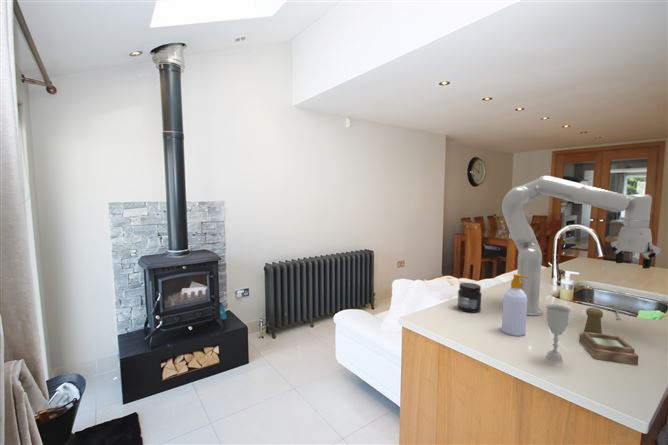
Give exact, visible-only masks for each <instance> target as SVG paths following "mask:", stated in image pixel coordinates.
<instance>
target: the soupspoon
mask: <svg viewBox="0 0 668 445" xmlns="http://www.w3.org/2000/svg"><path fill="white" fill-rule="evenodd" d="M606 307H607V308H610V309H613V310H615V313H616V315H617V316H616V318H615V320H616V321H619V320H621V321H622V319H621V316H620V313H619V311H620V310H625V308H624V307H622V306H620V305H619V304H608V305H606Z"/></svg>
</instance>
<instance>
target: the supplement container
mask: <svg viewBox="0 0 668 445" xmlns="http://www.w3.org/2000/svg"><path fill="white" fill-rule="evenodd" d="M458 288H459V289H458V291H457V293H458V294H457V308H458V309H459V310H461V311H462V312H465V313H471V314H473V313H474V314H475V313H479V312H480V311H481V309H482V292H481V291H482V288H481V285H479V284H477V283H473V282H461V283H459V286H458Z"/></svg>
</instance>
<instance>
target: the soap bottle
mask: <svg viewBox="0 0 668 445" xmlns="http://www.w3.org/2000/svg"><path fill="white" fill-rule="evenodd" d="M512 275H513V278H512V280H511V282H510V288H508V289H507V290H505V291H504V293H503V298H502V302H503V303H502V318H501V331H502V332H503V333H505V334H508V335H511V336H515V337H516V336H517V337H521V336H525V335H526V330H527V329H526V327H527V316H528V315H527V296H526V294H525V293H524V291H522V290H521V282H520V280H519V278H527V279H529V277H526V276H521V275H519V274H517V273H513V274H512Z"/></svg>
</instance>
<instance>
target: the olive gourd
mask: <svg viewBox="0 0 668 445" xmlns="http://www.w3.org/2000/svg"><path fill="white" fill-rule="evenodd" d="M585 312H586V316H587V317H586V321H585V326H584V329H583V332H589V333H598V334H603V330H602V329H603V328H602V318H603V317H604V312H603V311H602V310H601V309H599V308H595V307H589V308H588V307H587V309H586V311H585Z"/></svg>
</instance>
